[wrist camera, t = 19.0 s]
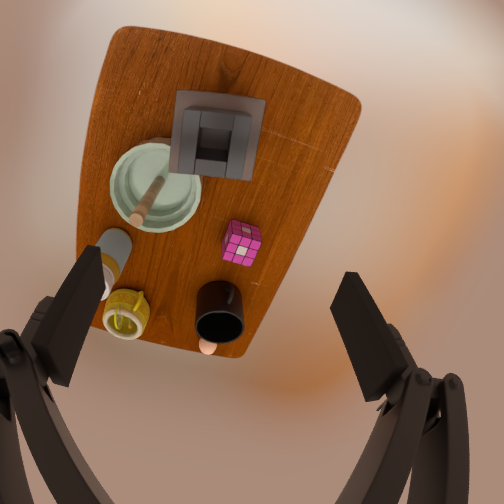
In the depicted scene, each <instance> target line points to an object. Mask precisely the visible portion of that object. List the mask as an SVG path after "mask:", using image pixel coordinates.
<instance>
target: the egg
mask: <svg viewBox="0 0 504 504" xmlns="http://www.w3.org/2000/svg"><path fill="white" fill-rule="evenodd" d="M199 347H200V349H201V351H202V352H203V353H204V354H206V355H210V354H212V353H213V352H214V351H215V349H216V347H217V344H215V343H210V342H207V341H205V340H203V339H202V338H201V339H200V341H199Z"/></svg>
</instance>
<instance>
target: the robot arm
mask: <svg viewBox="0 0 504 504" xmlns="http://www.w3.org/2000/svg"><path fill="white" fill-rule="evenodd" d="M105 290H106V285H105V278H104V272H103V265H102V257H101V249H100V247H99V246H90V245H87V247H86V248H85V249H84V251H83V252H82V254H81V255H80V257H79V258H78V260H77V261H76V263H75V265H74V266H73V268H72V269H71V271H70V273H69V274H68V276H67V277H66V279H65V280H64V282H63V284H62V285H61V287H60V289H59V290H58V292H57V294H56V296H55V297H49V296H46V297H45V298H44V299H43V300H42V301H40V302H39V303H38V305H37V307H36V308H35V310H34V313H33V314H32V315H31V317H30V319H29V321H28V323H27V324H26V326H25V328H24V330H23V332H22V334H21V336H19V334H18V333H17V332H16V331H15V330H12V329H6V330H3V331H1V332H0V504H34V502H33V499H32V495H31V492H30V489H29V485H28V482H27V478H26V474H25V470H24V465H23V461H22V457H21V452H20V445H19V439H18V434H17V426H16V418H15V412H16V415H17V418H18V421H19V424H20V426H21V429H22V432H23V434H24V437H25V439H26V442H27V444H28V446H29V449H30V451H31V454H32V456H33V458H34V460H35V462H36V465H37V466H38V469H39V471H40V473H41V475H42V477H43V479H44V481H45V482H46V484H47V486H48V488H49V490H50V492H51V493H52V495H53V497H54V499H55V500H56V502H57V504H114V502H113V501H112V500H111V499H110V497H109V496H108V494H107V493H106V491H105V490H104V489H103V487H102V486H101V484H100V483H99V481H98V480H97V478H96V477H95V475H94V474H93V472H92V471H91V469H90V467H89V466H88V464H87V462H86V461H85V459H84V458H83V456H82V454H81V452H80V451H79V449H78V447H77V445H76V443H75V442H74V440H73V438H72V436H71V434H70V432H69V430H68V428H67V426H66V424H65V422H64V420H63V418H62V416H61V414H60V412H59V409H58V407H57V405H56V403H55V401H54V398H53V396H52V394H51V391H50V389H49V386H48V385H47V380H48V377H50V378H51V380H52V382H53V383H54V384H58V385H61V386H65V387H69V383H70V380H71V377H72V374H73V371H74V368H75V365H76V362H77V359H78V357H79V354H80V351H81V348H82V345H83V343H84V340H85V338H86V335H87V333H88V330H89V327H90V325H91V322H92V320H93V318H94V315H95V313H96V310H97V308H98V306H99V303H100V301H101V299H102V296H103V294H104V292H105ZM330 310H331V312H332V315H333V317H334V320H335V322H336V324H337V327H338V330H339V332H340V335H341V337H342V340H343V342H344V345H345V347H346V350H347V352H348V355H349V358H350V360H351V363H352V366H353V368H354V371H355V374H356V376H357V379H358V382H359V385H360V387H361V390H362V393H363V396H364V398H365V401H366V402H370V401H375V400H379V399H380V398H381V397H382V396H383V395H384V394H386V397H387V399H386V400H385V401H384V402H383V403H382V404H381V405H380V406H379V408H378V409H377V411H379V410H380V409H381V408H382V409H381V412H380V414H379V416H378V419H377V421H376V424H375V426H374V428H373V431H372V433H371V435H370V438H369V440H368V442H367V444H366V446H365V449H364V451H363V453H362V455H361V457H360V459H359V461H358V463H357V465H356V467H355V469H354V471H353V473H352V475H351V476H350V478H349V480H348V482H347V484H346V485H345V487H344V489H343V491H342V493H341V494H340V496H339V498H338V499H337V501H336V503H335V504H398V502H399V499H400V497H401V495H402V492H403V489H404V487H405V484H406V482H407V479H408V476H409V474H410V471H411V468H412V474H411V481H410V488H409V494H408V501H407V504H468V494H469V492H468V491H469V434H468V421H467V410H466V402H465V393H464V387H463V383H462V381H461V379H460V378H459V377H458V376H457V375H455V374H453V373H449V374H447V375H446V376H445V377H444V378H443V379H437V378H432V376H431V375H430V374H429V372H428V371H426V370H424V369H422V368H418V367H417V365H416V363H415V361H414V359H413V358H412V355H411V353H410V352H409V350H408V348H407V347H406V346H405V342H404V340H402V337H401V335H400V333H399V331H398V330H397V329H396V328H395V327H394V326H393V325H392V324H387V323H386V321H385V319H384V318H383V316H382V314H381V312H380V310H379V309H378V307H377V305H376V303H375V302H374V300H373V298H372V296H371V295H370V293H369V291H368V290H367V288H366V286H365V285H364V283H363V281H362V279H361V278H360V276H359V274H358V273H357V272H346V273H345V275H344V277H343V280H342V282H341V284H340V286H339V289H338V291H337V293H336V295H335V298H334V300H333V302H332V304H331V307H330ZM440 412H441V417H439V413H440Z"/></svg>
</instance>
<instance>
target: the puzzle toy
mask: <svg viewBox="0 0 504 504" xmlns="http://www.w3.org/2000/svg"><path fill="white" fill-rule="evenodd" d="M261 244H262V240H261V235H260V231H259V228H258V227H255V226H252V225H249V224H246V223H242V222H239V221H236V220H233V219H231V221H230V223H229V226H228V229H227V231H226V234H225V236H224V239H223V241H222V259H224V260H227V261H232V262H235V263H238V264H242V265H245V266H249V267H251V265H252V263H253V261H254V258H255V257H256V254H257V252H258V250H259V248H260V246H261Z"/></svg>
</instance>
